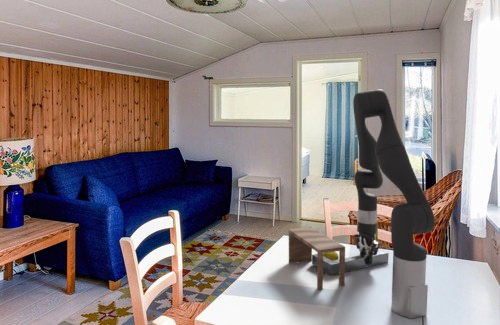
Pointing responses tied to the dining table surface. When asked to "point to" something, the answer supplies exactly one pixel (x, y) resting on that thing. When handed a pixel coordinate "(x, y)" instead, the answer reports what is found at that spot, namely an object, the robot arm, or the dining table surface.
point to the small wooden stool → (313, 239)
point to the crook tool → (351, 262)
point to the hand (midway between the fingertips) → (366, 262)
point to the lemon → (331, 255)
